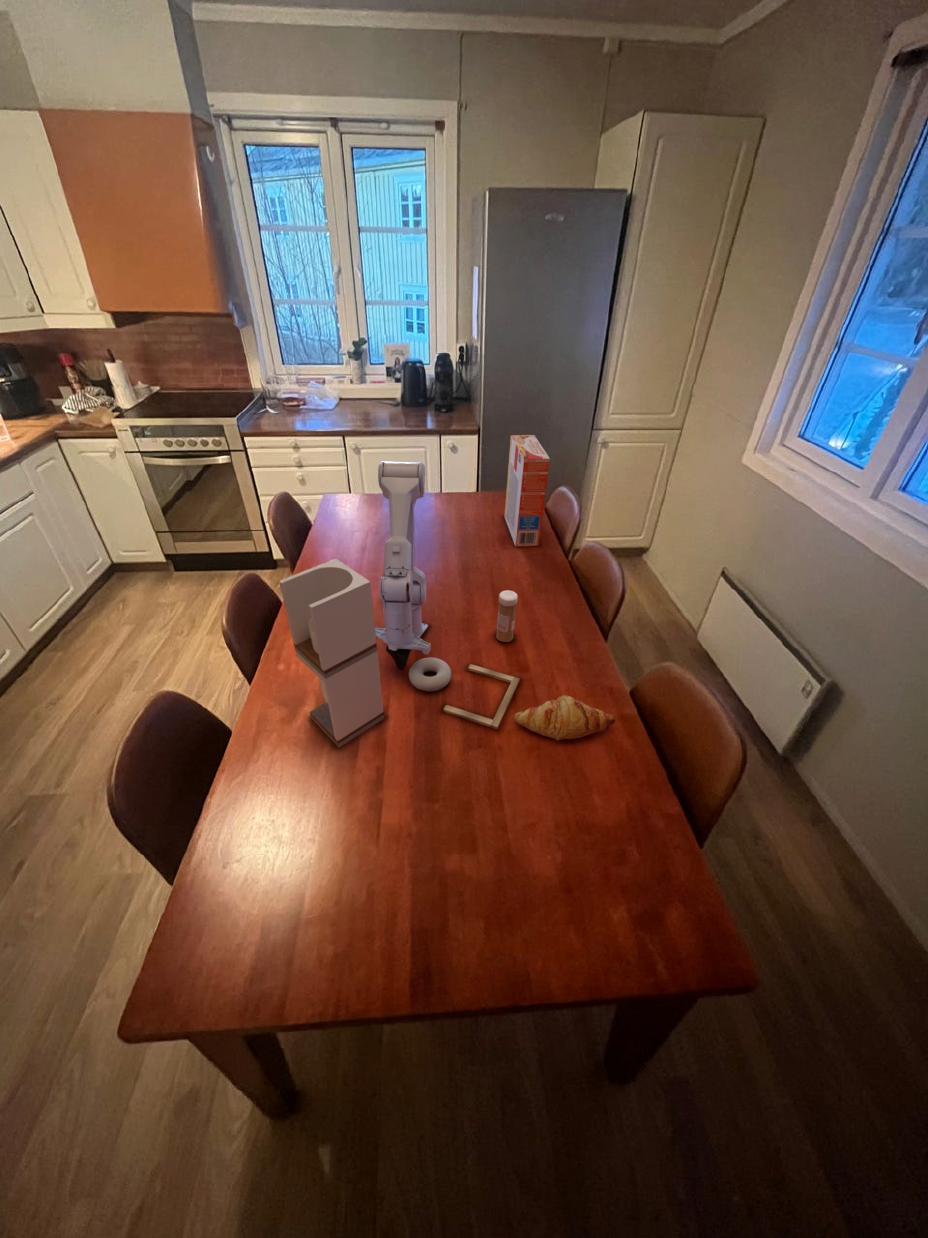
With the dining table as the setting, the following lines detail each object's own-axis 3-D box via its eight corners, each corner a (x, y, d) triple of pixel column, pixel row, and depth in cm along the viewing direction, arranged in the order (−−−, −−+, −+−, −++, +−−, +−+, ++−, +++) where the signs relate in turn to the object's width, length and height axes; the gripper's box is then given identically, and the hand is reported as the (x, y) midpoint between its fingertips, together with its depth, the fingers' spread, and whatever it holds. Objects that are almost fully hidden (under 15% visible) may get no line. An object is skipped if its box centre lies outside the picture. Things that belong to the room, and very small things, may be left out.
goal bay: (443, 711, 110) (443, 709, 109) (470, 666, 122) (470, 663, 121) (497, 729, 106) (497, 727, 106) (519, 681, 118) (519, 678, 118)
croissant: (513, 744, 108) (517, 736, 100) (512, 698, 112) (515, 688, 104) (612, 745, 107) (623, 737, 100) (607, 699, 112) (617, 688, 104)
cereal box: (538, 545, 171) (550, 458, 153) (515, 546, 170) (523, 458, 152) (525, 516, 189) (534, 435, 171) (504, 516, 188) (510, 435, 170)
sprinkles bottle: (516, 639, 131) (521, 596, 122) (502, 645, 129) (506, 602, 120) (506, 629, 134) (510, 587, 125) (492, 635, 132) (495, 593, 123)
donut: (449, 664, 122) (408, 665, 121) (450, 653, 120) (408, 654, 119) (452, 694, 114) (408, 695, 114) (453, 683, 112) (408, 684, 111)
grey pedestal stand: (355, 692, 114) (335, 558, 93) (384, 718, 108) (370, 581, 87) (311, 718, 107) (279, 580, 86) (338, 747, 102) (311, 607, 80)
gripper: (361, 623, 110) (366, 669, 119) (420, 641, 106) (421, 687, 114) (377, 606, 116) (381, 651, 124) (434, 622, 111) (435, 667, 120)
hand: (402, 667), depth 119 cm, fingers closed
